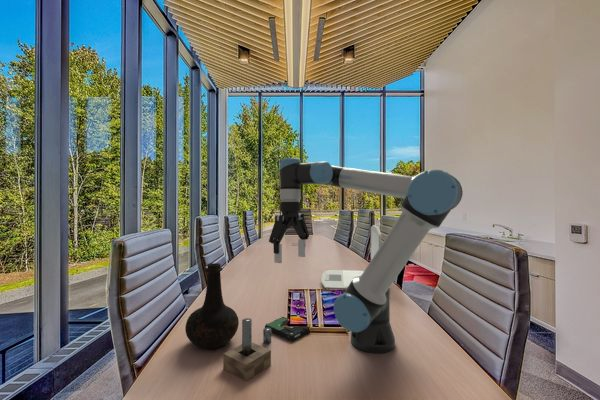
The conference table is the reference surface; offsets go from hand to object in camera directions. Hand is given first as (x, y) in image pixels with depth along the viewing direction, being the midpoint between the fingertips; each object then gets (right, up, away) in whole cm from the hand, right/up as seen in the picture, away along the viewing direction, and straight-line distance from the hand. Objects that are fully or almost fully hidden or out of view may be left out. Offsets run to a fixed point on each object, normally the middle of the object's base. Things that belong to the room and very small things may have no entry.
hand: (290, 259), depth 107 cm
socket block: (-12, -29, -18) cm, 36 cm away
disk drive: (-2, -29, +6) cm, 30 cm away
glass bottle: (-27, -29, -3) cm, 40 cm away
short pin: (-8, -29, -3) cm, 30 cm away
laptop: (+33, -29, +73) cm, 86 cm away
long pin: (-13, -29, -18) cm, 36 cm away
